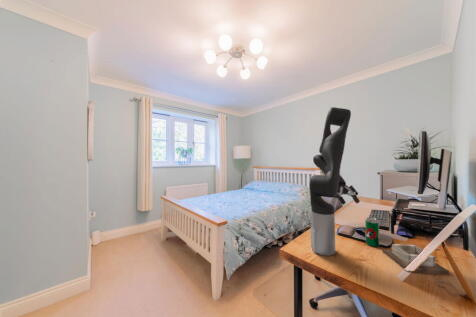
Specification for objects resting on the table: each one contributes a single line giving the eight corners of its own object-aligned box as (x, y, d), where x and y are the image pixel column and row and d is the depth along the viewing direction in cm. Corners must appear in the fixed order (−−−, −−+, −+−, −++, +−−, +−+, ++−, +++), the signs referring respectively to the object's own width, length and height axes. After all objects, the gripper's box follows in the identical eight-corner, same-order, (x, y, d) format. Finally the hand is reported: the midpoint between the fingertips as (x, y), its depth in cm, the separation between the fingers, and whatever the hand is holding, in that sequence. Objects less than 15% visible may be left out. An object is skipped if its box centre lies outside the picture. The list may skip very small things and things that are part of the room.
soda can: (381, 247, 79) (381, 221, 79) (369, 247, 80) (368, 220, 80) (375, 242, 84) (375, 217, 84) (363, 241, 85) (363, 217, 85)
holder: (406, 271, 63) (406, 258, 63) (382, 252, 76) (382, 241, 76) (449, 274, 61) (449, 260, 61) (417, 254, 74) (417, 242, 74)
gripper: (327, 175, 101) (343, 200, 90) (348, 174, 104) (367, 198, 93) (321, 183, 106) (336, 207, 95) (342, 182, 109) (358, 205, 98)
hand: (351, 203), depth 94 cm, fingers open, 8 cm apart
